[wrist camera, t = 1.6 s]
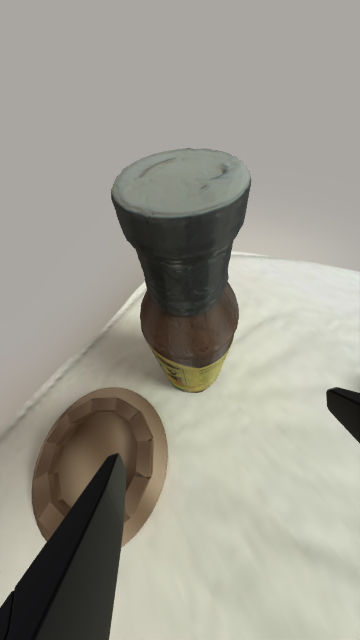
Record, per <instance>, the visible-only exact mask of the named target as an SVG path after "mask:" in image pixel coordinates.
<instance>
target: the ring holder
mask: <svg viewBox="0 0 360 640" xmlns="http://www.w3.org/2000/svg"><path fill="white" fill-rule="evenodd" d="M115 453H119V454H120V455H121V458H122V460H123V463H124V465H125V468H126V492H125V512H124V528H123V536H122V544H121V547H122V546H124V545H125V544H126V543H127V542H129V541H130V540H131V539H132V538H133V537H134V536H135V535H136V534H137V532H138V531H139V530H140V529H141V528H142V526H143V525H144V524H145V522H146V521H147V519H148V518H149V516H150V514H151V513H152V511H153V509H154V507H155V505H156V503H157V501H158V498H159V496H160V493H161V491H162V487H163V484H164V480H165V475H166V469H167V458H168V451H167V440H166V434H165V431H164V427H163V424H162V422H161V419H160V417H159V415H158V414H157V412H156V410H155V409H154V408H153V406H152V405H151V404H150V403H149V402H148V401H147V400H146V399H145V398H143V397H142V396H140V395H139V394H137V393H135V392H133V391H130V390H127V389H123V388H105V389H101V390H97V391H95V392H92V393H90V394H88V395H86V396H84V397H82V398H81V399H79V400H78V401H76V402H75V403H74V404H73V405H72V406H70V407H69V408H68V409H67V410H66V411H65V412H64V413H63V414H62V415H61V417H60V418H59V419H58V420H57V422H56V423H55V424H54V426H53V427H52V429H51V430H50V432H49V434H48V436H47V437H46V439H45V441H44V443H43V446H42V448H41V450H40V453H39V456H38V459H37V462H36V466H35V470H34V476H33V485H32V503H33V510H34V515H35V519H36V522H37V525H38V527H39V529H40V532H41V534H42V536H43V537H44V538H45V540H46V541H48V540H49V538H50V537H51V536H52V534H53V533H54V531H55V530H56V529H57V527H58V526H59V524H60V523H61V522H62V520H63V519H64V517H65V516H66V515H67V513H68V512H69V510H70V509H71V507H72V506H73V505H74V503H75V502H76V500H77V499H78V498H79V496H80V495H81V493H82V492H83V491H84V489H85V488H86V486H87V485H88V484H89V482H90V481H91V479H92V478H93V476H94V475H95V474H96V472H97V471H98V469H99V468H100V467H101V465H102V464H103V462H104V461H105V460H106V458H107V457H108V456H109V455H112V454H115Z"/></svg>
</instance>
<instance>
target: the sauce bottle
mask: <svg viewBox="0 0 360 640" xmlns="http://www.w3.org/2000/svg"><path fill="white" fill-rule="evenodd" d="M250 186H251V176H250V173H249V170H248V169H247V167H246V165H245V164H244V163H243V162H242V161H241V160H239V159H237V158H236V157H235V156H232V155H230V154H228V153H225V152H222V151H217V150H211V149H191V148H187V149H178V150H171V151H165V152H161V153H157V154H153V155H150V156H148V157H145V158H142V159H140V160H138V161H136V162H134V163H132V164H131V165H129V166H127V167H126V168H124V169H123V170H122V172H121V174H120V175H118V176H117V177H116V179H115V182H114V184H113V187H112V189H111V198H112V202H113V205H114V207H115V210H116V214H117V217H118V220H119V223H120V225H121V228H122V231H123V233H124V235H125V237H126V239H127V241H128V242H130V243H131V245H132V246H133V247H134V248H135V249H136V252H137V254H138V258H139V260H140V263H141V267H142V269H143V272H144V276H145V283H146V286H147V291H146V293H145V295H144V298H143V300H142V303H141V312H140V319H141V329H142V332H143V335H144V337H145V339H146V341H147V343H148V344H149V346H150V348H151V350H152V351H153V353H154V355H155V357H156V359H157V360H158V362H159V363H160V365H161V367H162V368H163V370H164V372H165V374H166V375H167V377H168V379H169V380H170V381H171V383H172V384H173V385H175V386H176V387H177V388H178V389H180V390H182V391H185V392H191V393H199V392H202V391H204V390H205V389H207V388H208V387H209V386H210V385H211V384H213V383H214V381H215V380H216V378H217V376H218V374H219V372H220V370H221V367H222V365H223V363H224V360H225V358H226V356H227V354H228V351H229V349H230V346H231V344H232V341H233V337H234V333H235V330H236V329H237V324H238V319H239V308H238V303H237V300H236V296H235V294H234V292H233V290H232V288H231V286H230V284H229V283H228V282H227V281H228V265H229V260H230V255H231V250H232V244H233V240H234V239H235V237H236V236H237V234H238V232H239V230H240V228H241V227H242V225H243V222H244V218H245V213H246V208H247V201H248V197H249V191H250Z"/></svg>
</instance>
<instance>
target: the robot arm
mask: <svg viewBox="0 0 360 640" xmlns="http://www.w3.org/2000/svg"><path fill="white" fill-rule="evenodd" d="M326 396H327V407H328V409H329V411H330V412H331V413H332V414H333V415H334V416H335V417H336V418H337V420H338V421H339V422H340V423H341V424H342V425H343V426H344V427H345V428H346V429H347V430H348V431H349V432H350V433H351V435H352V436H353V437H354V438H355V439H356V440H357V441H358V442H359V443H360V393H357V392H354V391H350V390H346V389H342V388H338V387H335V388H331V389H328V390H327V392H326ZM125 492H126V468H125V465H124V463H123V460H122V458H121V455H120V454H119V453H115V454H112V455H109V456H108V457H107V458H106V460H105V461H104V462H103V464H102V465H101V467H100V468H99V469H98V471H97V472H96V474H95V475H94V476H93V478H92V479H91V481H90V482H89V484H88V485H87V486H86V488H85V489H84V491H83V492H82V493H81V495H80V496H79V498H78V499H77V500H76V502H75V503H74V505H73V506H72V507H71V509H70V510H69V512H68V513H67V515H66V516H65V517H64V519H63V520H62V522H61V523H60V524H59V526H58V527H57V529H56V530H55V531H54V533H53V534H52V536H51V537H50V538H49V540H48V541H47V543H46V544H45V546H44V547H43V548H42V550H41V551H40V553H39V554H38V555H37V557H36V558H35V560H34V561H33V562H32V564H31V565H30V567H29V568H28V569H27V571H26V572H25V574H24V575H23V577H22V578H21V579H20V581H19V582H18V584H17V585H16V587H15V590H14V591H12V592H11V593H10V595H9V596H8V598H7V599H6V600H5V602H4V603H3V605H2V606H1V607H0V640H109V635H110V628H111V620H112V613H113V605H114V597H115V590H116V582H117V575H118V567H119V559H120V552H121V544H122V536H123V528H124V512H125Z"/></svg>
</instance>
